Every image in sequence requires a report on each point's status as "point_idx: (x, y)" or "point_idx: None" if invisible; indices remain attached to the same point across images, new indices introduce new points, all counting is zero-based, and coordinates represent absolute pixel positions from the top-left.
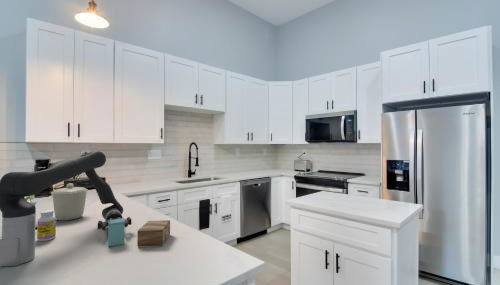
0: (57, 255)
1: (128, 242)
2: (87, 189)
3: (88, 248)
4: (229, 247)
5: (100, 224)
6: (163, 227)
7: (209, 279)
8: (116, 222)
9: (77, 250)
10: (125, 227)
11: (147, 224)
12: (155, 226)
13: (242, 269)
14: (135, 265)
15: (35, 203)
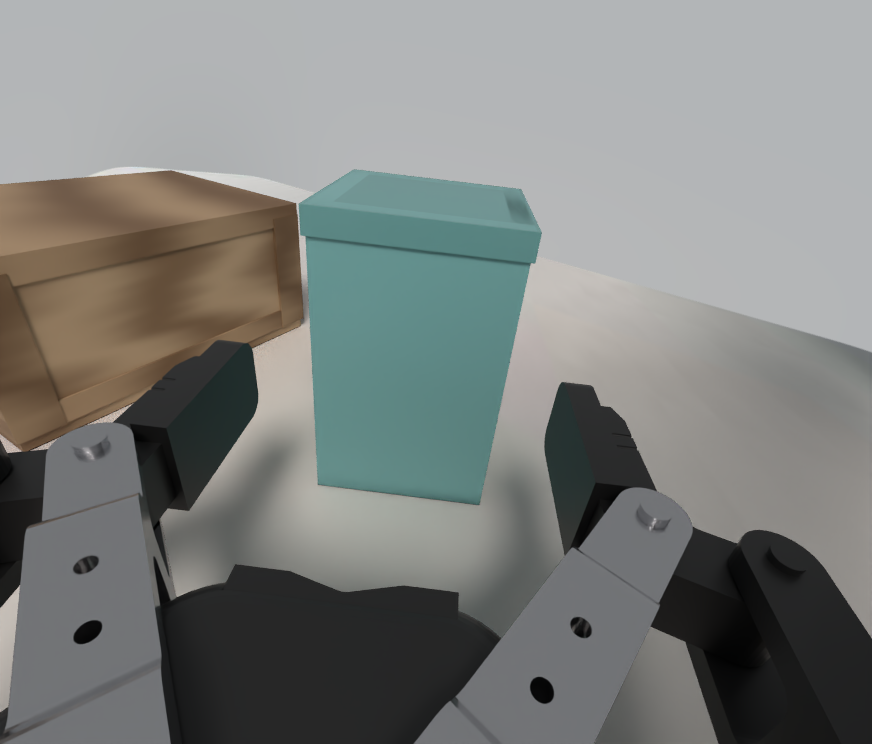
0: (865, 478)
1: (305, 413)
2: None
3: (651, 478)
4: None
5: (730, 558)
6: (117, 176)
7: (276, 183)
8: (439, 181)
9: (742, 488)
10: (250, 406)
11: (112, 224)
12: (128, 193)
13: (185, 172)
14: None
15: None
